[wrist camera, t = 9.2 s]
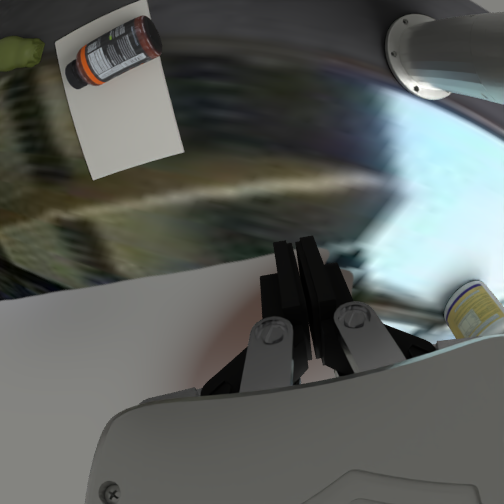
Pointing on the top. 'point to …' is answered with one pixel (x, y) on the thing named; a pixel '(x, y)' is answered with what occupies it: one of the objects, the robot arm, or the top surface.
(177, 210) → the top surface
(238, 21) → the top surface
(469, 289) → the supplement tub
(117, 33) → the supplement bottle
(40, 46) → the pear
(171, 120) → the mat
